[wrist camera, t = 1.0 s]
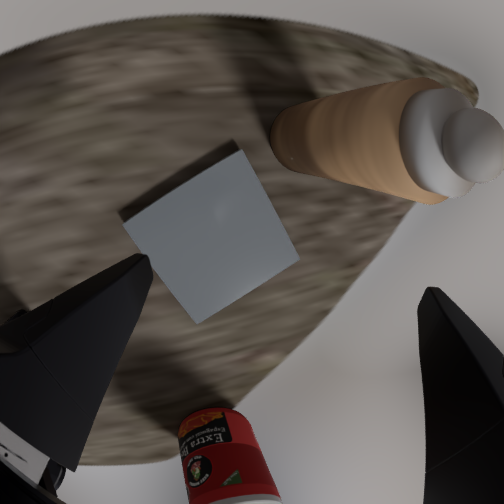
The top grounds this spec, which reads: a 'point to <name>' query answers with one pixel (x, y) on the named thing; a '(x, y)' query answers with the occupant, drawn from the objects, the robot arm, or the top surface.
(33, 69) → the top surface
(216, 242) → the plate
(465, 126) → the pepper mill
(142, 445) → the top surface
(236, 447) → the canned food
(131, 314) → the robot arm
